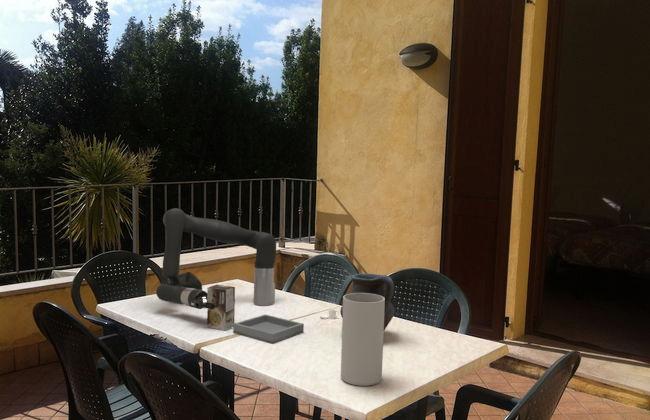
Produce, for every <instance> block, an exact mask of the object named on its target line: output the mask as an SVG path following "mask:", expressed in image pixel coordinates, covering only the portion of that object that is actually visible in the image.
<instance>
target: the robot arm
mask: <svg viewBox="0 0 650 420" xmlns="http://www.w3.org/2000/svg"><path fill="white" fill-rule="evenodd" d="M162 223H163V225H164V226H165V227H166V240H165V242H166V243H165V248H164V252H163V257H162V258H163V259H162V268H161V269H162V270H161V275H162V277H163V278H166V279H168V281H169V283H161V284H160V285H158V287H157V288H156V290H155V294H156V297H157V298H158V299H159V300H160V301H163V302H171V303H178V304H181V305H184V306H186V307H190V308H194V309H197V310H202V309H203V310H204V309H207V308H208V309H214V304H213V303H209V302H207V291H205V290H203V289H202V290H198V289H194V288H187V287H181V282H180V277H179V275H180V263H181V249H182V247H181V245H182V239H183V232H184V233H185V232H186V233H190V234H194V235H197V236H200V237H203V238H205V239H209V240H212V241H216V242H220V243H225V244H235V245H242V246H246V247H249V248H252V249H255V250H256V252H255V253H256V254H255V257H256V258H255V260H254V264H253V265H254V266H253V268H254V270H253V271H254V272H253V305H256V306H262V307H263V306H264V307H265V306H272V305H273V304H274V303H276V302H275V301H276V299H275V298H276V283H275V264H276V263H275V262H276V260H277V259H276V257H277V242H276V241H277V240H276V238H275V236H273V235H272V234H270V233H268V232H264V231H257V230H250V229H246V228H243V227H240V226H238V225H236V224H232V223H230V222H226V221H222V220H218V219H212V218H205V217H204V218H203V217H196V216H192V215H189V214H187V213H185V212H184V211H183V210H182V209H181V208H178V207H177V208H176V207H174V208H171V209H168V210H167V211H166V212H165V213H164V214H163V217H162Z"/></svg>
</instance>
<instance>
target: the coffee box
mask: <svg viewBox="0 0 650 420" xmlns="http://www.w3.org/2000/svg"><path fill="white" fill-rule="evenodd" d="M235 289H236V287H235V286H230V285H222V284H215V285H211V286H209V287H207V291H206V292H207V302H209V303H213V304H214V309H208V308H206V309H207V311H206V312H207V313H206V314H207V315H206V316H207V317H206V318H207V321H206V322H207V325H206V326H207V328H210V329H216V330H221V331H228V330H230V329H233V328H232V327H233V324H234V323H235V307H236V306H235V305H236V304H235V301H236V299H235V296H236V295H235V294H236V290H235Z"/></svg>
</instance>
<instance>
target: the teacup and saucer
mask: <svg viewBox="0 0 650 420" xmlns="http://www.w3.org/2000/svg"><path fill="white" fill-rule="evenodd" d="M336 314H337V315H336ZM339 314H340V312H339V310H337V309H335V308H329V309H328V314H323V313H322V314H320V315H319V316H320V317H319V318H321V319H323V320H324V321H329V322H330V321H331V322H338V321H340V320H342V316H341V317H340V316H339ZM336 318H337V319H336Z"/></svg>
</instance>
